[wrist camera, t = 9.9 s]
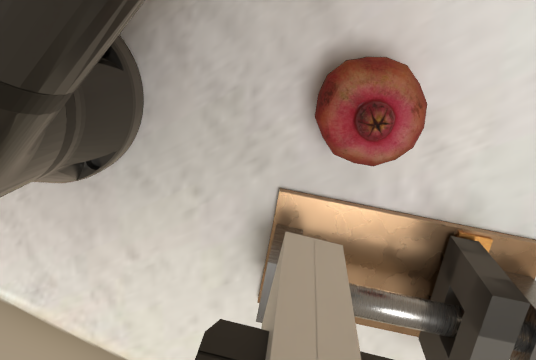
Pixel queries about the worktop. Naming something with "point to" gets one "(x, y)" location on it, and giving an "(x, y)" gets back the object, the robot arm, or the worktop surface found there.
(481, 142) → the worktop surface
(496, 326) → the collar
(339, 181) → the worktop surface
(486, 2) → the worktop surface
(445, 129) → the worktop surface
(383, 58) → the fruit
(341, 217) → the pipe rig
